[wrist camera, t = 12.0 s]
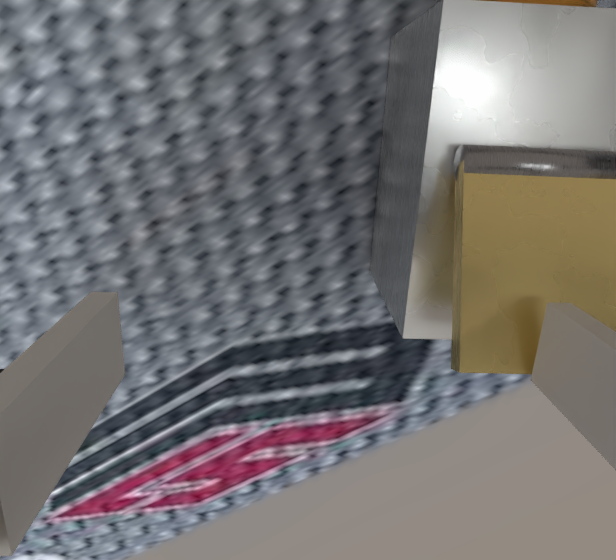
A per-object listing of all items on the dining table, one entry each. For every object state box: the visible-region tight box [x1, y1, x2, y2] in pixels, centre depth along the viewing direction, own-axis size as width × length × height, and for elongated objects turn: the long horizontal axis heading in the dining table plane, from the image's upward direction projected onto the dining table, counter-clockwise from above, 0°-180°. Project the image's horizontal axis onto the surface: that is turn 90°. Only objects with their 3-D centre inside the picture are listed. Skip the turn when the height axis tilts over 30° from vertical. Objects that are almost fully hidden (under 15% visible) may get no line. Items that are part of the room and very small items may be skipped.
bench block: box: [370, 0, 616, 340], centre depth 21 cm, size 8×12×8 cm, turn 177°
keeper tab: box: [451, 144, 616, 374], centre depth 16 cm, size 6×8×1 cm
